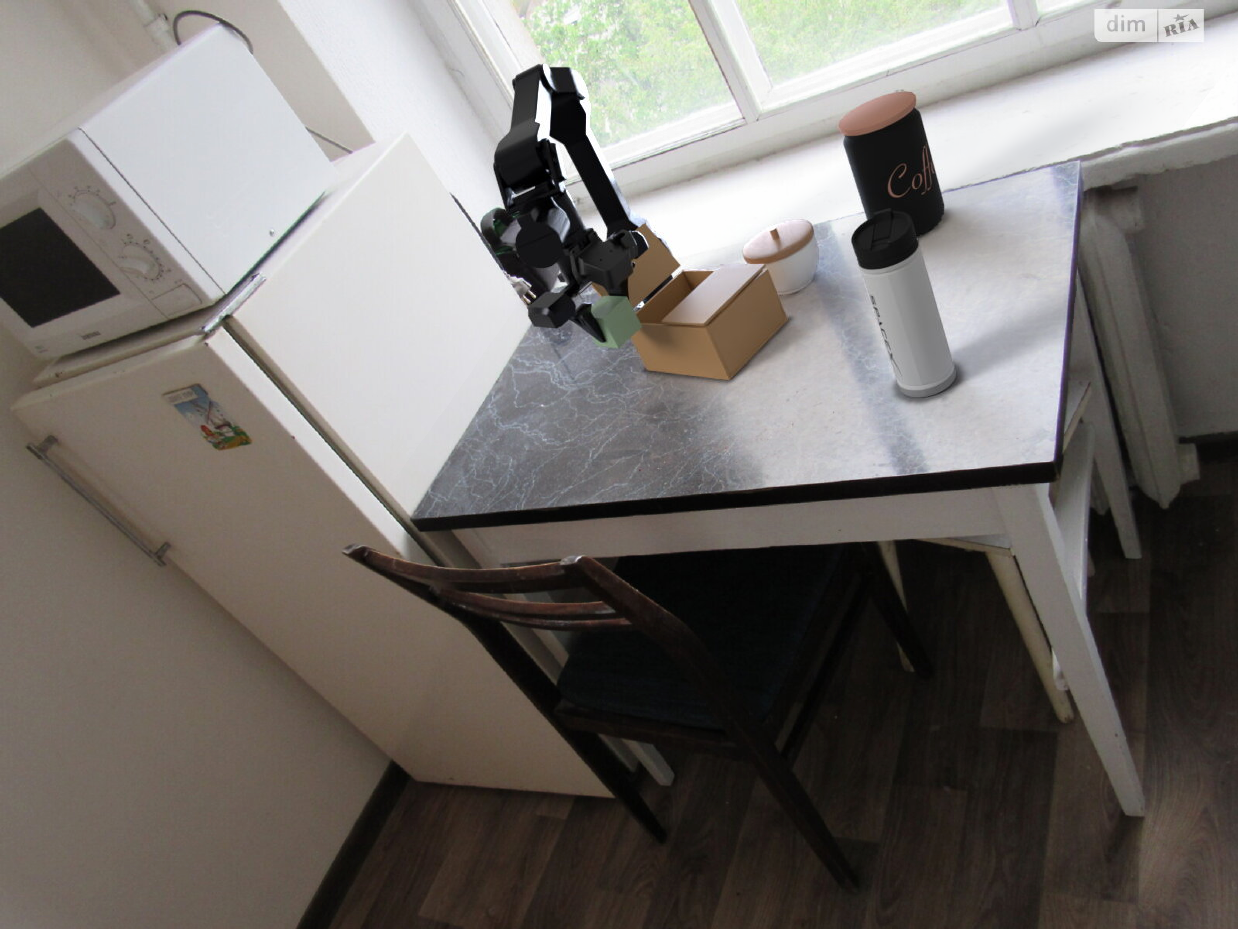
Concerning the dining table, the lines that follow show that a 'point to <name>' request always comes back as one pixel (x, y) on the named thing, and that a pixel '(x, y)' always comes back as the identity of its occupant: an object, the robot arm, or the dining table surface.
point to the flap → (647, 269)
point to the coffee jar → (893, 159)
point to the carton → (709, 321)
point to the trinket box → (786, 254)
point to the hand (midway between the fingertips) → (616, 330)
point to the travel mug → (904, 303)
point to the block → (615, 320)
